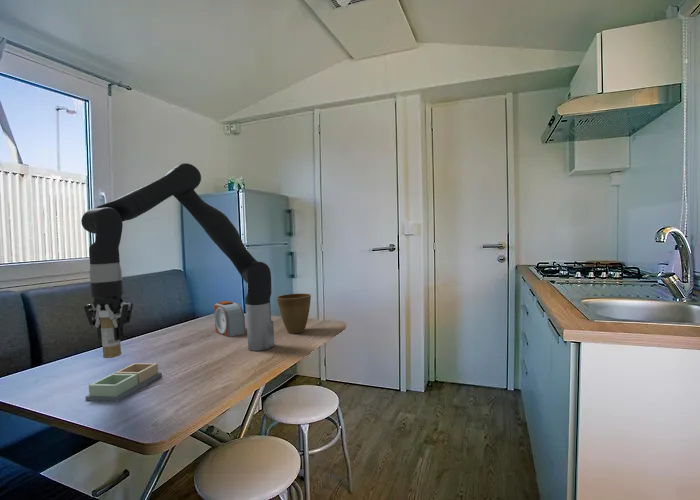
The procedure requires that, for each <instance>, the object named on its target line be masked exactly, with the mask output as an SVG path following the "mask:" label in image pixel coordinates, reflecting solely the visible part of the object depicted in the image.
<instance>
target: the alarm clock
mask: <svg viewBox="0 0 700 500" xmlns="http://www.w3.org/2000/svg"><path fill="white" fill-rule="evenodd" d="M213 310H214V326H215V330H214V331H215V333H216V334H220V335H223V336H225V337H227V338H230V337H231V338H232V337H235V336H238V335H243V334H247V331H246V317H245V313H244V312H245V311H244V310H243V308H242V306H241V304H239V303H237V302H234V301H228V300H223V301H218V302H217V303H214V304H213Z"/></svg>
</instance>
